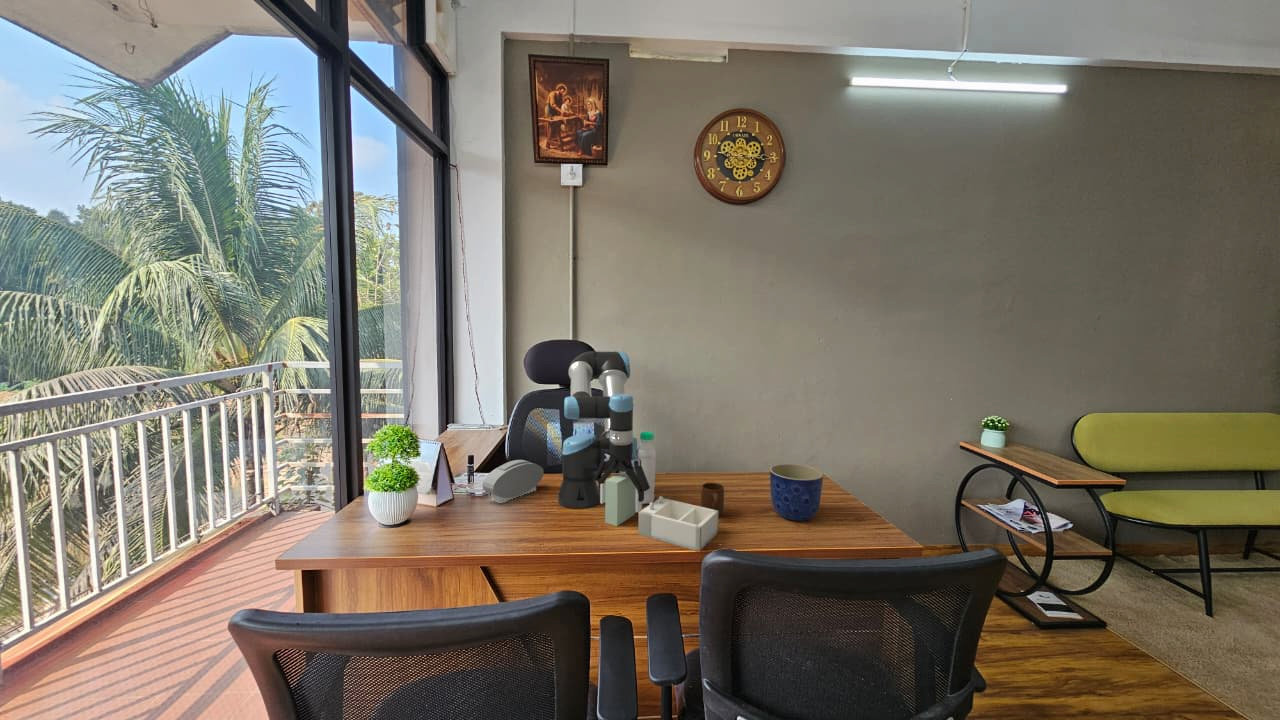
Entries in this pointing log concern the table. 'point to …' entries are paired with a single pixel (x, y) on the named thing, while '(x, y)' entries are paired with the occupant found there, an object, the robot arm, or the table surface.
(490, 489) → the grey rounded oblong block
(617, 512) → the pale green block
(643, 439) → the water bottle
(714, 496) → the mug
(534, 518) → the table surface
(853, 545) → the table surface
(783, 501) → the planter
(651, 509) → the desk organizer
